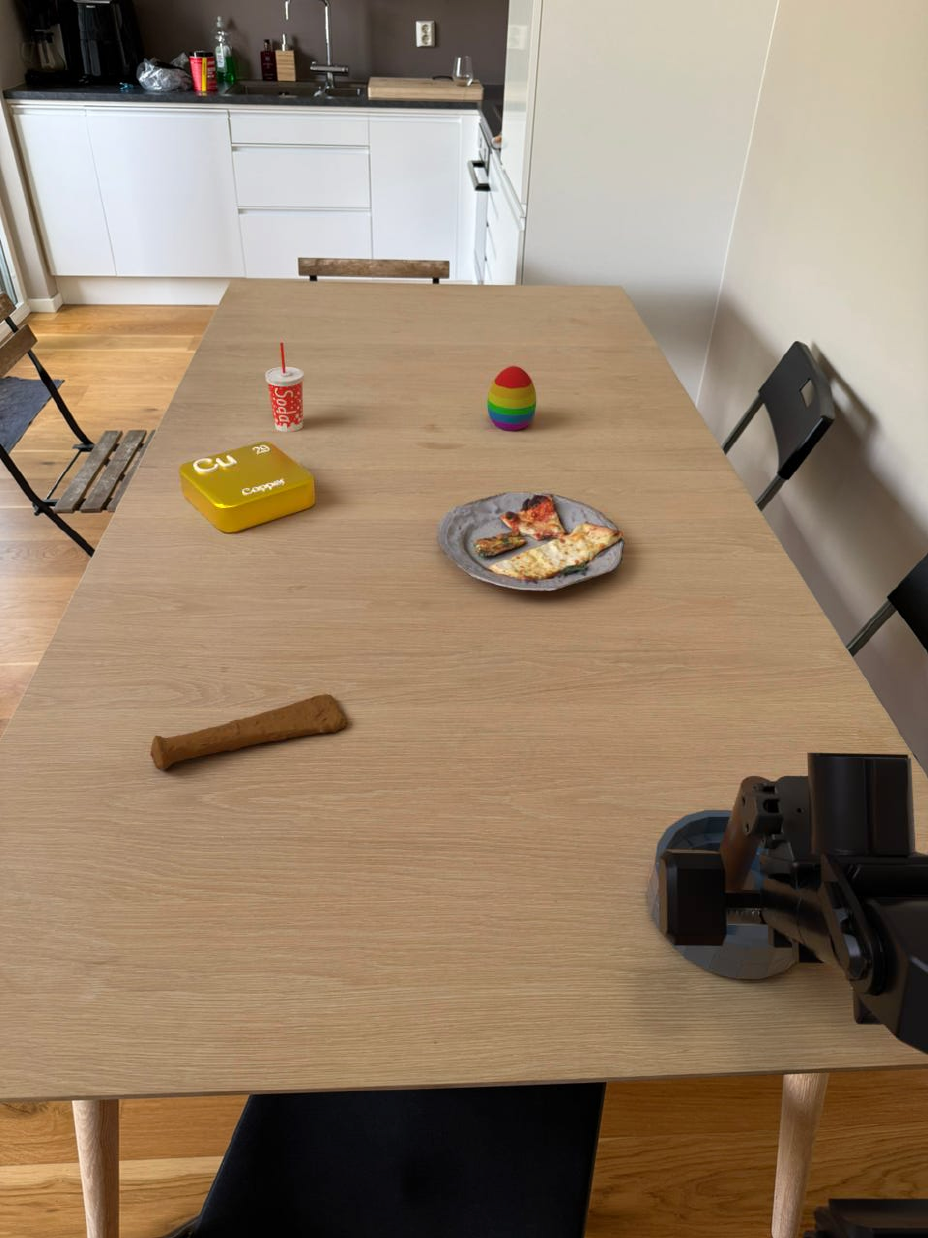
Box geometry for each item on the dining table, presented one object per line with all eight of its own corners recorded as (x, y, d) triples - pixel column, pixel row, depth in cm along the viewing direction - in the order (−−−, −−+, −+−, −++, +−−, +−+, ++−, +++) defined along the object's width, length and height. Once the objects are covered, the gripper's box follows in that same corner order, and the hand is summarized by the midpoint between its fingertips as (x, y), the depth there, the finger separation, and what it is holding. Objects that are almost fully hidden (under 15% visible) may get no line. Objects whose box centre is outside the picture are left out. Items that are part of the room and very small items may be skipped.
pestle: (756, 914, 76) (800, 805, 67) (709, 925, 75) (748, 816, 66) (731, 872, 79) (769, 763, 70) (685, 882, 78) (720, 773, 69)
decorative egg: (515, 409, 156) (519, 354, 150) (544, 427, 150) (549, 370, 144) (477, 419, 152) (479, 363, 146) (504, 438, 147) (508, 380, 141)
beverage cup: (263, 429, 146) (254, 346, 137) (282, 415, 151) (274, 333, 142) (296, 436, 144) (289, 352, 136) (314, 421, 149) (308, 339, 140)
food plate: (552, 489, 134) (554, 469, 131) (657, 566, 118) (662, 543, 116) (407, 533, 122) (407, 511, 120) (503, 623, 107) (505, 600, 105)
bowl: (841, 955, 74) (859, 919, 70) (698, 1005, 70) (712, 969, 67) (747, 830, 84) (760, 794, 81) (618, 867, 80) (626, 831, 77)
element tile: (224, 537, 120) (219, 506, 117) (178, 491, 129) (172, 461, 126) (321, 505, 128) (319, 475, 125) (270, 464, 137) (267, 435, 134)
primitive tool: (330, 696, 96) (328, 671, 94) (350, 728, 92) (349, 703, 90) (149, 756, 88) (143, 731, 86) (164, 793, 85) (157, 768, 82)
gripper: (983, 789, 56) (864, 778, 72) (690, 784, 56) (634, 774, 71) (994, 973, 55) (870, 921, 70) (693, 969, 54) (635, 918, 70)
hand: (752, 879), depth 70 cm, fingers open, 9 cm apart
